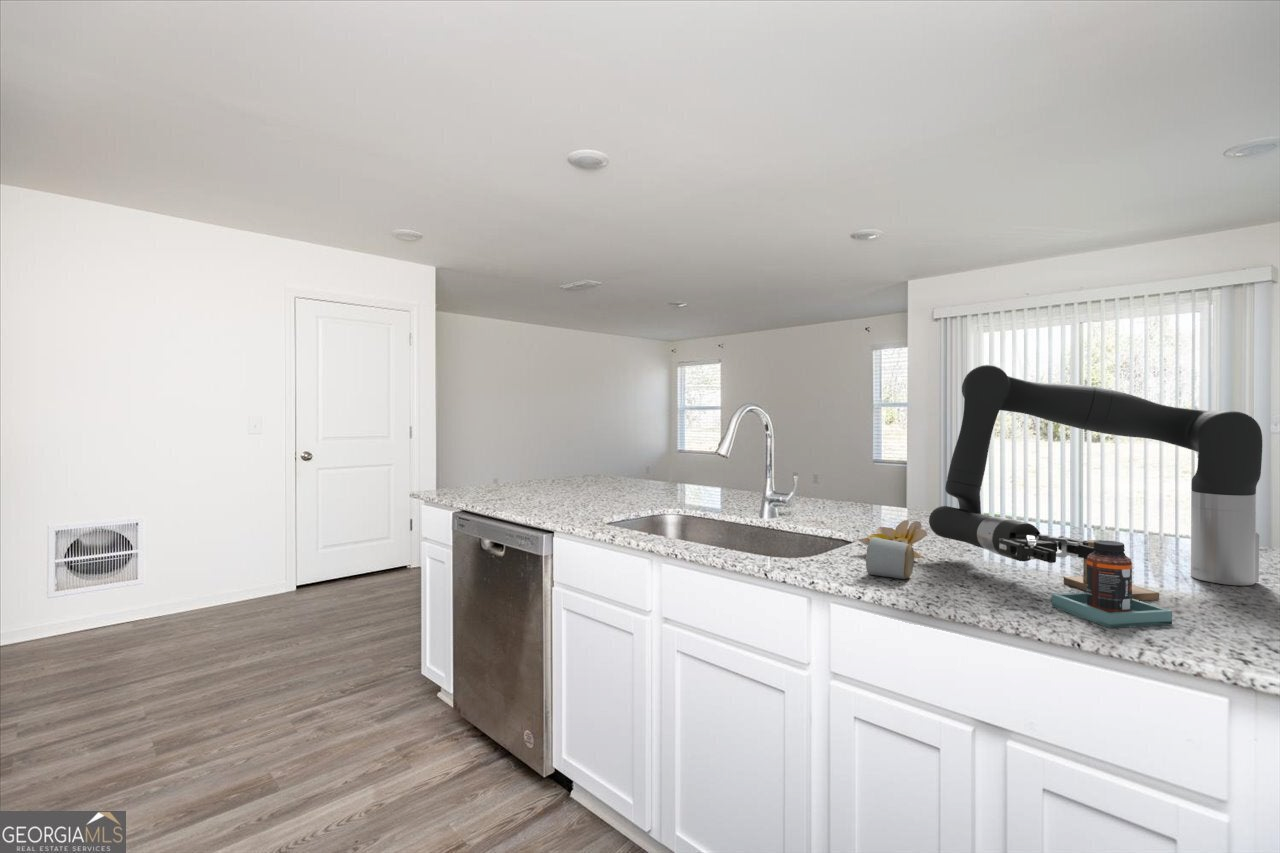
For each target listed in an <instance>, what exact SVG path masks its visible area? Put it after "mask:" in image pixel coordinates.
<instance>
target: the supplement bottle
mask: <svg viewBox="0 0 1280 853" xmlns="http://www.w3.org/2000/svg"><path fill="white" fill-rule="evenodd" d="M1096 540H1097V541H1094V549H1095V550H1094V552H1093V553H1090V554H1089V555H1088V556H1087V591H1086V592H1087V605H1089V606H1092V607H1094V608H1097V609H1100V610H1103V611H1106V612H1108V613H1115V612H1131V611H1132V585H1133V563H1132V559H1131V558H1130V557H1128V556H1127V555H1126V553H1125V551H1126V550H1125V543H1123V542H1120V541H1114V540H1104V539H1103V540H1102V539H1096Z"/></svg>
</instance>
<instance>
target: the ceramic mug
mask: <svg viewBox="0 0 1280 853" xmlns="http://www.w3.org/2000/svg"><path fill="white" fill-rule="evenodd" d="M914 551H915V550H914V547H913V546H911V545H909V544H906V543H903V542H898V541H892V540H886V539H881V538H876V537H872V538H871V539H870V541H869V543H868V545H867V548H866V555H865V556H866V557H865V570H866V572H867V574H868V575H871V576H878V577H879V576H880V577H887V578H891V579H900V580H901V579H905V580H906V579H910V577H911V576H912V574H913V570H914V563H915V558H914Z"/></svg>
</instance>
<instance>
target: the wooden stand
mask: <svg viewBox="0 0 1280 853" xmlns="http://www.w3.org/2000/svg"><path fill="white" fill-rule="evenodd" d="M1097 540H1098V539H1091V540H1090V539H1088V540H1086V539H1083V541H1086V542H1089V545H1088V546H1090V547H1094V541H1097ZM1082 560H1083V562H1082V564H1083V569H1082V571H1083V572H1082V575H1083V576H1081V575H1080V576H1079V575H1078V576H1063V584H1064V583H1065V584H1064V585H1067V584H1068V586H1070V585H1071V587H1073V586H1074V587H1073V588H1076V587H1077V589H1079V588H1080V590H1082V589H1084V590H1083V591H1085V590H1087V559H1084V558H1082ZM1132 598H1133V599H1136V600H1140V601H1155V600H1154V599H1159V600H1160V592H1158V591H1154V590H1151V589H1148V588H1145V587H1142V586H1141V587H1140V586H1138V585H1134V584H1132Z"/></svg>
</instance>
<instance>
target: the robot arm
mask: <svg viewBox="0 0 1280 853" xmlns="http://www.w3.org/2000/svg"><path fill="white" fill-rule="evenodd" d="M961 394H962V397H963V399H964V400H963V402H964V403H963V414H962V422H961V425H960V426H961V427H960V431H959V435H958V437H957V441H956V444H955V447H954V451H953V453H952V456H951V459H950V464H949V468H948V473H947V478H946V482H945V486H944V487H945V488H944V489H945V493H947V494H948V495H950V496H952V497H954V498H955V499H957V501H958V507H954V506H953V507H952V506H949V505H942V506H938V507H936V508H935V509H933V510H932V511H931V513H930V515H929V517H928V525H929V528H930V530H932V532H933V533H934V534H935V535H936V536H938V537H941V538H945V539H948V540H953V541H958V542H962V543H967V544H970V545H973V546H974V547H977V548H980V549H983V550H987V551H989V552H991V553H993V554H995V555H999V556H1001V557H1005V558H1009V559H1012V560H1015V561H1018V562H1028V561H1031V560H1039V561H1043V562H1044V563H1045V562H1046V563H1049V564H1055V563H1057V562H1056V561H1057V558H1063V559H1064V558H1066V557H1068V556H1069V557H1077V558H1081V559H1083V558H1084V559H1087V556H1088V555H1089V554H1090V553H1093V552H1094V550H1095V549H1094V547H1090V546H1088V545H1089V542H1086V541H1084V540H1080V539H1076V538H1071V537H1067V536H1064V535H1061V536H1057V537H1056V536H1050V535H1049V534H1042V533H1041V532H1040V531H1039V530H1038V528H1037V527H1036V526H1035V525H1034V524H1031V523H1029V522H1026V521H1021V520H1015V519H1011V518H1006V517H1002V516H1000V517H999V516H992V515H988V514H984V513H982V507H981V491H982V490H981V489H982V488H981V487H982V484H983V481H984V478H985V477H984V475H985V472H986V467H987V466H986V465H987V461H988V456H989V450H990V443H991V439H992V434H993V430H994V428H995V424H996V421H997V417H998V415H999V412H1000V411H1005V412H1010V413H1011V412H1012V413H1017V414H1025V415H1029V416H1031V417H1032V416H1033V417H1036V418H1039V419H1042V420H1046V421H1048V422H1049V421H1050V422H1052V423H1056V424H1059V425H1064V426H1068V427H1072V428H1076V429H1081V430H1085V431H1088V432H1089V431H1090V432H1094V433H1099V434H1103V435H1104V434H1106V435H1113V436H1117V437H1119V436H1120V437H1129V438H1140V439H1141V438H1142V439H1150V440H1155V441H1159V442H1163V443H1167V444H1170V445H1174V446H1177V447H1180V448H1184V449H1187V450H1191V451H1194V452H1196V453H1197V454H1198V455H1197V469H1196V472H1195V474H1194V476H1192V478H1191V491H1190V492H1191V493H1190V494H1191V502H1190V503H1191V508H1190V509H1191V510H1190V512H1191V514H1190V515H1191V516H1190V519H1191V520H1190V524H1191V525H1190V576H1191V578H1193V579H1197V580H1200V581H1205V582H1209V583H1213V584H1214V583H1215V584H1221V585H1230V586H1253V585H1255V583H1259V582H1260V580H1259V579H1260V534H1259V533H1258V532H1256V530H1257V529H1256V528H1257V526H1256V521H1257V520H1256V519H1257V516H1256V515H1257V512H1256V511H1257V507H1256V506H1257V505H1256V504H1257V485H1258V483H1259V481H1260V479H1261V476H1262V474H1261V473H1262V463H1263V462H1262V460H1263V458H1262V457H1263V433H1262V429H1261V426H1260V424H1259V423H1258V422H1257V420H1255V419H1254V418H1253V416H1251V415H1249V414H1247V413H1243V412H1241V411H1235V410H1202V409H1192V408H1191V409H1190V408H1184V407H1175V406H1169V405H1165V404H1160V403H1158V402H1157V403H1156V402H1153V401H1151V400H1148V399H1146V398H1143V397H1139V396H1135V395H1133V394H1130V393H1126V392H1122V391H1118V390H1113V389H1109V388H1108V389H1107V388H1103V387H1097V386H1093V385H1085V384H1084V385H1083V384H1075V383H1051V382H1050V383H1048V382H1037V381H1031V380H1027V379H1026V380H1025V379H1021V378H1017V377H1014V376H1013V377H1012V376H1009V375H1008V374H1007V373H1006V372H1005V371H1004V370H1003V369H1002V368H1000V367H998V366H996V365H993V364H985V365H979V366H977V367H975V368H973V369H972V370H970V371H968V373H967V374H966V375H965V378H964V379H963V382H962V384H961ZM1058 550H1059V551H1061V552H1058Z"/></svg>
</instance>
